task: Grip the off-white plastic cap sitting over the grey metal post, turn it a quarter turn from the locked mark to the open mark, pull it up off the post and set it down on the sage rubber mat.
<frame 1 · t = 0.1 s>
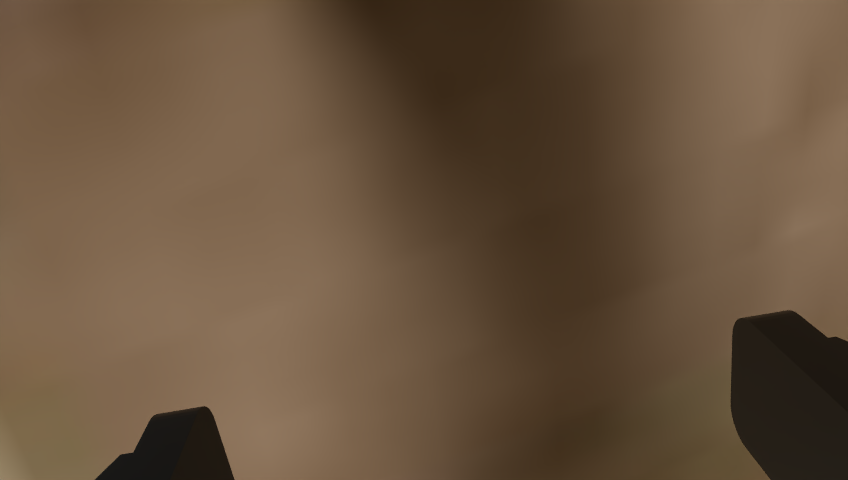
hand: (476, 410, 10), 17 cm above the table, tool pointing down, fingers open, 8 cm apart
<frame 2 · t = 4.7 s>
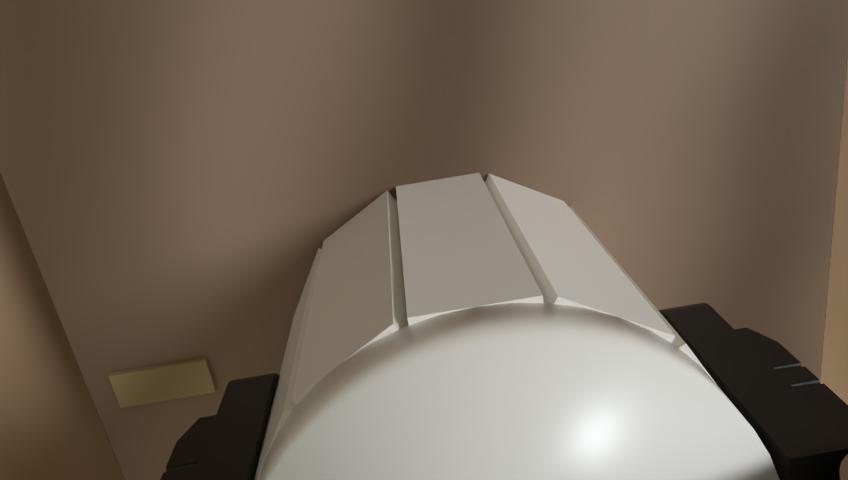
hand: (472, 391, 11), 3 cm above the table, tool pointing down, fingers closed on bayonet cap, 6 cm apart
post base: (452, 296, 14), on the table
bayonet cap: (460, 332, 12), point 1 cm above the table, touching gripper, post base
when the fingers open (4 cm above the table, at t = 12.6 s): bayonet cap drops 2 cm, resting on sage mat.
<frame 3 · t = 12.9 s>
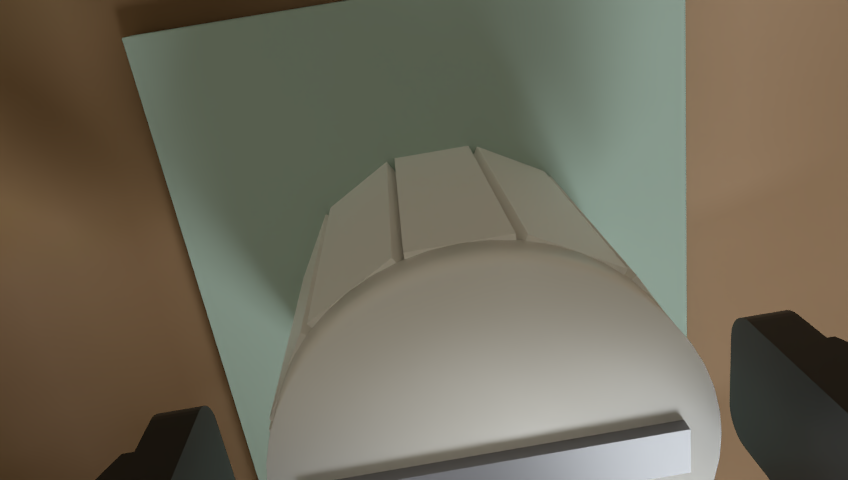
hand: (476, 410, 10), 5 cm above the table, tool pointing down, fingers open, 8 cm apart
sage mat: (447, 282, 15), on the table
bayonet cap: (453, 290, 14), point 1 cm above the table, touching sage mat
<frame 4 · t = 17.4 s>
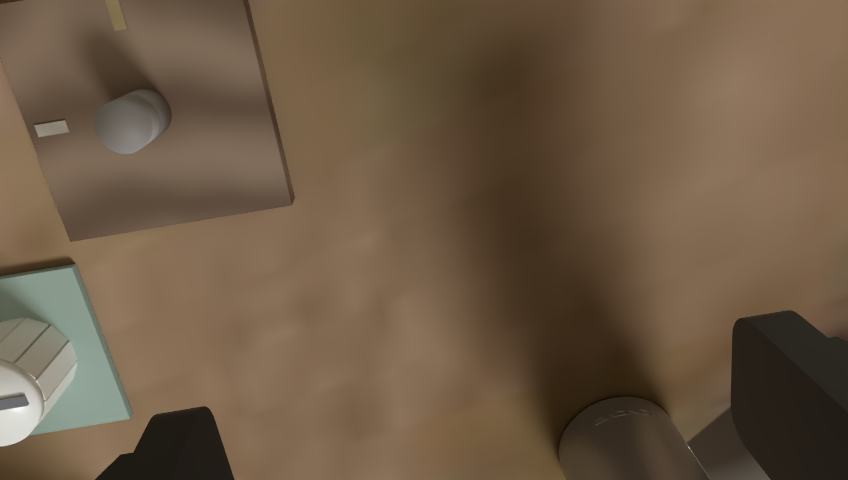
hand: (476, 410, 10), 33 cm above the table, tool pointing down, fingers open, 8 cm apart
sage mat: (33, 354, 46), on the table
post base: (154, 108, 41), on the table
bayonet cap: (30, 357, 45), point 1 cm above the table, touching sage mat
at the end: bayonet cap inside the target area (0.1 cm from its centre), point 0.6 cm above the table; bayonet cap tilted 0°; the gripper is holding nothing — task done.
